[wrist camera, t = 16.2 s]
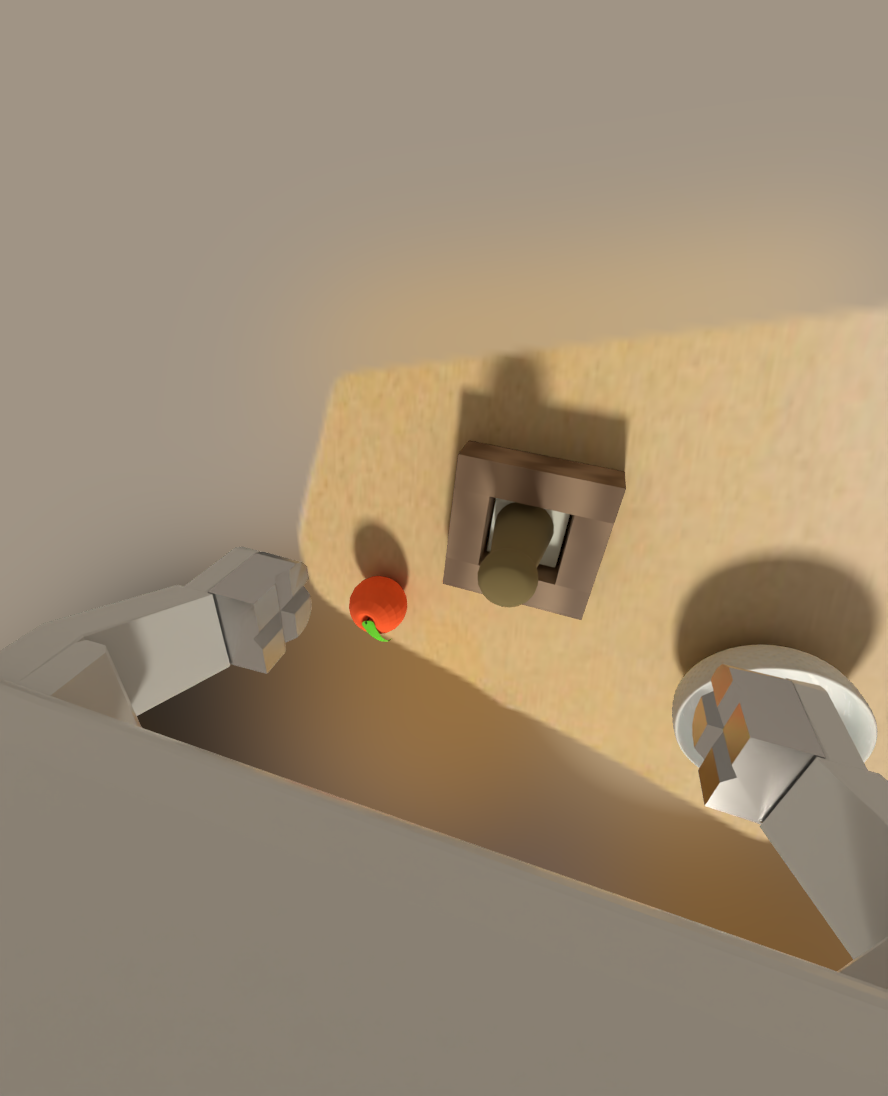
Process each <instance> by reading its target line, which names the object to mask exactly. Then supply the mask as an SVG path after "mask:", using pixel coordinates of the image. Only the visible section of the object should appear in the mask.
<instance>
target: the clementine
mask: <svg viewBox="0 0 888 1096" xmlns="http://www.w3.org/2000/svg"><path fill="white" fill-rule="evenodd" d="M349 609H350V614H351V617H352V619H353V621H354V622H355V623H356V625H357V626H358V627H360V628H361V629H362V630H364V631H366V632H368V633H369V634H370V635H371V636H372V637H374V638H375V639H377V640H380V641H390V640H391V639H390V640H385V639H383V638H382V637H381V635H380V634H382V633H387V632H389V631H391V630H393V629H395V628H396V627H397V626H398V625H399V624H400V623H401V622H402V620H403V619H404V617H405V614H406V610H407V599H406V595H405V593H404V591H403V589H402V588H401V586H400V585H399V584H398V583H397V582H396V581H394V580H392V579H390V578H387V577H382V576H374V577H370V578H368V579H365V580H363V581H362V582H361V583H360V584H359V585H357V586H356V587H355V589H354V591H353V593H352V595H351V597H350V604H349Z"/></svg>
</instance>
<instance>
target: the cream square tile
mask: <svg viewBox="0 0 888 1096" xmlns="http://www.w3.org/2000/svg"><path fill="white" fill-rule="evenodd" d="M510 503H513V501H508V500H503V499H499V498H496V501H495V507H494V512H493V518H492V524H491V530H490V535H489V541H488V547H487V551H489V552H490V550H491V544H492V538H493V531H494V525H495V520H496V517H497V514H498V513H499V512H500V511H501V509H502V508H503V507H505V506H507V505H508V504H510ZM543 509H544V508H543ZM545 510H546V511H547V513H548V514H549V515H550V517H551V518H552V521H553V524H554V534H553V537H552V539H551V541H550V543H549V545H548V547H547V549H546V551H545V553H544V555H543V557H542V559H541V561H540V563H539V564H542V565H546V566H550V567H554V568H555V567H556V563H557V560H558V556H559V552H560V549H561V545H562V541H563V538H564V534H565V531H566V527H567V523H568V520H569V516H570V514H567V513H562V512H558V511H553V510H549V509H545Z"/></svg>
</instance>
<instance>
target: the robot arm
mask: <svg viewBox="0 0 888 1096" xmlns="http://www.w3.org/2000/svg"><path fill="white" fill-rule="evenodd" d="M308 580H309V576H308V569H307V566H306V565H305V564H304V563H302V562H299V561H296V560H292V559H288V558H284V557H281V556H277V555H273V554H270V553H266V552H260V551H257V550H253V549H249V548H245V547H238V548H234V549H233V550H231V551H230V552H229V553H227V554H226V555H225V556H223V557H222V558H221V559H219V560H218V561H217V562H216V563H214V564H213V565H211V566H210V567H209V568H207V569H206V570H205V571H204V572H202V573H201V574H199V575H198V576H197V577H196V578H194V579H193V580H192V581H190V582H189V583H188V584H187V585H185V586H180V585H175V586H172V587H168V588H165V589H161V590H158V591H154V592H151V593H147V594H144V595H140V596H137V597H133V598H130V599H127V600H123V601H119V602H116V603H113V604H109V605H106V606H102V607H99V608H95V609H92V610H88V611H85V612H81V613H78V614H74V615H71V616H68V617H64V618H61V619H57V620H54V621H50V622H47V623H43V624H41V625H40V626H38V627H37V628H35V629H34V630H32V631H30V632H29V633H27V634H26V635H24V636H23V637H21V638H19V639H18V640H16V641H15V642H13V643H12V644H10V645H8V646H7V647H5V648H4V649H2V650H1V651H0V1096H888V781H887V780H886V779H885V778H884V777H883V776H881V775H880V774H878V773H875V772H871V771H868V770H867V768H866V766H865V764H864V762H863V760H862V758H861V756H860V754H859V752H858V750H857V748H856V746H855V744H854V743H853V741H852V739H851V737H850V735H849V733H848V731H847V729H846V727H845V725H844V723H843V721H842V719H841V717H840V715H839V714H838V712H837V710H836V708H835V706H834V704H833V702H832V700H831V698H830V696H829V694H828V692H827V691H826V690H825V689H824V688H822V687H821V686H820V685H815V684H811V683H806V682H801V681H797V680H792V679H788V678H786V679H784V678H780V677H776V676H772V675H767V674H763V673H759V672H755V671H750V670H746V669H742V668H738V667H734V666H729V665H725V664H721V665H720V666H719V667H718V668H717V669H716V670H715V672H714V674H713V676H712V678H711V683H712V687H713V691H712V692H710V693H707V694H705V695H703V696H701V698H700V700H699V702H698V704H697V707H696V709H695V713H694V718H693V723H692V737H693V743H694V748H695V749H696V750H697V752H698V753H699V754H700V755H701V756H702V758H703V759H704V761H703V763H702V765H701V766H700V768H699V770H698V772H699V777H700V783H701V788H702V793H703V799H704V804H705V806H707V807H710V808H713V809H716V810H719V811H722V812H725V813H728V814H731V815H734V816H737V817H740V818H743V819H746V820H749V821H752V822H755V823H758V824H761V825H760V828H761V829H762V830H763V832H764V833H765V835H766V836H767V838H768V839H769V840H770V842H771V843H772V845H773V846H774V847H775V849H776V850H777V852H778V853H779V854H780V856H781V857H782V859H783V860H784V862H785V863H786V864H787V866H788V867H789V869H790V870H791V872H792V873H793V874H794V876H795V877H796V879H797V880H798V881H799V883H800V884H801V886H802V887H803V888H804V890H805V891H806V893H807V894H808V896H809V897H810V898H811V900H812V901H813V903H814V904H815V906H816V907H817V908H818V910H819V911H820V913H821V914H822V915H823V917H824V918H825V919H826V921H827V923H828V924H829V925H830V927H831V928H832V930H833V931H834V932H835V934H836V935H837V937H838V938H839V940H840V941H841V942H842V944H843V945H844V947H845V948H846V949H847V951H848V952H849V954H850V955H851V956H852V958H853V959H854V960H853V961H852V962H850V963H849V964H847V965H846V966H845V967H843V968H842V969H840V970H839V971H834V970H831V969H828V968H825V967H822V966H819V965H817V964H814V963H811V962H808V961H805V960H802V959H800V958H797V957H794V956H791V955H788V954H785V953H782V952H780V951H777V950H774V949H771V948H768V947H765V946H762V945H760V944H756V943H754V942H751V941H748V940H745V939H742V938H739V937H737V936H734V935H731V934H728V933H725V932H722V931H720V930H717V929H714V928H711V927H708V926H706V925H703V924H700V923H697V922H694V921H691V920H688V919H686V918H683V917H680V916H677V915H674V914H671V913H668V912H665V911H663V910H660V909H657V908H654V907H651V906H648V905H646V904H642V903H640V902H637V901H634V900H631V899H628V898H626V897H623V896H620V895H617V894H614V893H611V892H608V891H606V890H602V889H600V888H597V887H594V886H591V885H588V884H586V883H583V882H580V881H577V880H574V879H571V878H568V877H566V876H563V875H560V874H557V873H554V872H551V871H548V870H545V869H543V868H540V867H537V866H534V865H531V864H528V863H526V862H523V861H520V860H517V859H514V858H511V857H508V856H505V855H503V854H500V853H497V852H494V851H491V850H488V849H485V848H483V847H480V846H477V845H474V844H471V843H468V842H465V841H463V840H459V839H457V838H454V837H451V836H448V835H446V834H443V833H440V832H437V831H434V830H431V829H428V828H425V827H422V826H420V825H417V824H414V823H411V822H408V821H405V820H403V819H400V818H397V817H394V816H391V815H388V814H385V813H383V812H380V811H377V810H374V809H371V808H369V807H366V806H363V805H360V804H357V803H354V802H351V801H349V800H346V799H343V798H340V797H337V796H334V795H332V794H329V793H326V792H323V791H320V790H317V789H314V788H312V787H309V786H306V785H303V784H300V783H297V782H294V781H292V780H289V779H286V778H283V777H280V776H277V775H274V774H271V773H269V772H266V771H263V770H260V769H257V768H254V767H252V766H249V765H246V764H243V763H240V762H237V761H235V760H232V759H229V758H226V757H223V756H220V755H218V754H215V753H212V752H209V751H206V750H203V749H200V748H198V747H195V746H192V745H189V744H186V743H183V742H180V741H178V740H175V739H172V738H169V737H166V736H163V735H160V734H157V733H155V732H152V731H149V730H146V729H143V728H142V727H141V725H140V723H139V721H138V718H137V715H139V714H141V713H143V712H145V711H146V710H149V709H150V708H152V707H154V706H156V705H158V704H160V703H162V702H164V701H165V700H167V699H169V698H171V697H173V696H175V695H177V694H179V693H180V692H182V691H184V690H186V689H188V688H190V687H192V686H194V685H196V684H197V683H199V682H201V681H203V680H205V679H207V678H209V677H211V676H212V675H214V674H216V673H218V672H220V671H222V670H224V669H226V668H227V667H229V666H230V664H232V665H237V666H240V667H244V668H247V669H251V670H255V671H258V672H262V673H266V674H267V673H268V672H269V671H270V670H271V668H272V667H273V666H274V665H275V664H276V662H277V661H278V660H279V659H280V658H281V657H282V655H283V654H284V653H285V652H286V648H285V642H287V641H290V640H292V639H294V638H297V637H298V636H299V635H300V633H301V632H302V631H303V630H304V628H305V626H306V624H307V622H308V619H309V617H310V613H311V605H312V604H311V596H310V594H309V593H308V591H307V590H306V589H305V587H304V584H305V583H306V582H307V581H308Z"/></svg>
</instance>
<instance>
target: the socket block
mask: <svg viewBox="0 0 888 1096" xmlns="http://www.w3.org/2000/svg"><path fill="white" fill-rule="evenodd" d="M625 490H626V484H625V472H624V471H619V470H614V469H609V468H604V467H599V466H594V465H589V464H584V463H579V462H574V461H569V460H564V459H559V458H553V457H548V456H543V455H538V454H533V453H528V452H523V451H518V450H513V449H508V448H503V447H498V446H493V445H488V444H483V443H478V442H473V441H468V443H467V444H466V445H465V446H464V448H463V449H462V450H461V451H460V453H459V454H458V461H457V469H456V478H455V486H454V494H453V503H452V511H451V520H450V528H449V536H448V545H447V553H446V561H445V570H444V578H443V584H446V585H450V586H454V587H458V588H461V589H465V590H469V591H473V592H477V593H480V594H483V593H482V592H481V590H480V587H479V585H478V570H479V567H480V564H481V562H482V561H483V560H484V559H485V557H486V556H487V555H488V554H490V552H489V551H487V547H488V546H487V540H488V534H489V529H490V523H491V517H492V511H493V506H494V500H495V498H499V499H503V500H508V501H513V502H517V503H522V504H526V505H531V506H535V507H540V508H544V509H549V510H553V511H558V512H562V513H567V514H571V515H572V518H571V521H570V525H569V529H568V532H567V536H566V539H565V543H564V546H563V550H562V554H561V557H560V561H559V564H558V563H556V567H555V568H554V567H550V566H546V565H542V564H539V565H538V567H537V571H538V586H537V588H536V591H535V593H534V595H533V596H532V597H531V598H530V599H529V600H528V601H527V602H526V603H523V604H522V605H526V606H530V607H534V608H537V609H541V610H545V611H549V612H553V613H556V614H560V615H564V616H568V617H572V618H575V619H579V620H581V619H582V617H583V614H584V611H585V608H586V605H587V602H588V599H589V596H590V593H591V590H592V587H593V584H594V581H595V578H596V575H597V572H598V569H599V566H600V563H601V561H602V558H603V555H604V552H605V549H606V546H607V543H608V540H609V537H610V534H611V531H612V528H613V525H614V522H615V519H616V516H617V513H618V510H619V507H620V505H621V502H622V499H623V496H624V493H625Z"/></svg>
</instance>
